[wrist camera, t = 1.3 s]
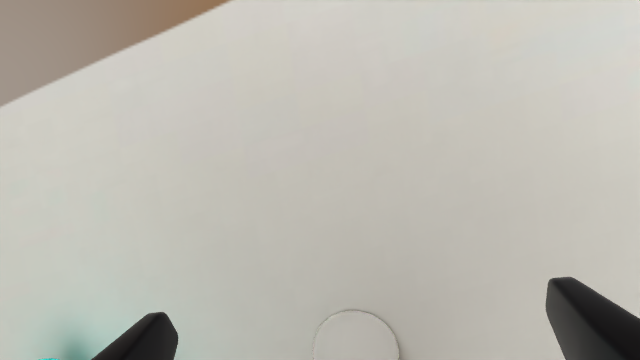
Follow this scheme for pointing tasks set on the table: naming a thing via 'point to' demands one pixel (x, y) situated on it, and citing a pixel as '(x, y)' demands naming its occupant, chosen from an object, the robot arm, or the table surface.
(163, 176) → the table surface
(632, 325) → the robot arm
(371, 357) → the beer glass
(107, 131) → the table surface
